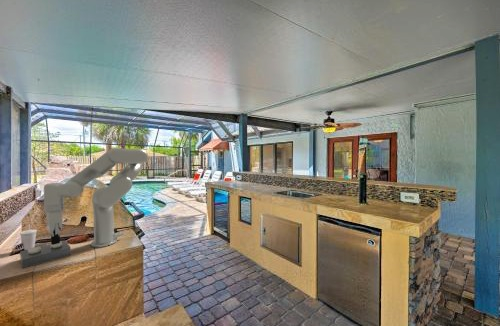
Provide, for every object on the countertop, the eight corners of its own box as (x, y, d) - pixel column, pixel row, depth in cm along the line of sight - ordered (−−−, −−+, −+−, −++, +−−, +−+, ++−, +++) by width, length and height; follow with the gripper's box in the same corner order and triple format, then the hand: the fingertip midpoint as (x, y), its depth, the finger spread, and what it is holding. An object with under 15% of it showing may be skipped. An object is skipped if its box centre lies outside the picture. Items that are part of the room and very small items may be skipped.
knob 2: (61, 249, 115) (61, 240, 115) (63, 251, 112) (62, 243, 112) (50, 252, 112) (49, 243, 112) (51, 255, 109) (51, 245, 109)
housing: (65, 247, 120) (65, 240, 119) (70, 254, 112) (70, 247, 111) (20, 259, 107) (20, 251, 106) (22, 268, 99) (22, 259, 99)
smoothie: (27, 252, 114) (25, 226, 113) (17, 251, 115) (16, 225, 114) (41, 247, 120) (39, 222, 119) (31, 246, 121) (30, 221, 120)
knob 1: (40, 254, 109) (40, 245, 109) (41, 257, 106) (41, 248, 106) (27, 258, 106) (27, 248, 106) (28, 261, 103) (28, 251, 103)
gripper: (42, 206, 113) (43, 241, 114) (46, 212, 103) (48, 250, 104) (61, 204, 118) (62, 237, 119) (67, 209, 109) (68, 245, 110)
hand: (55, 243), depth 112 cm, fingers closed
